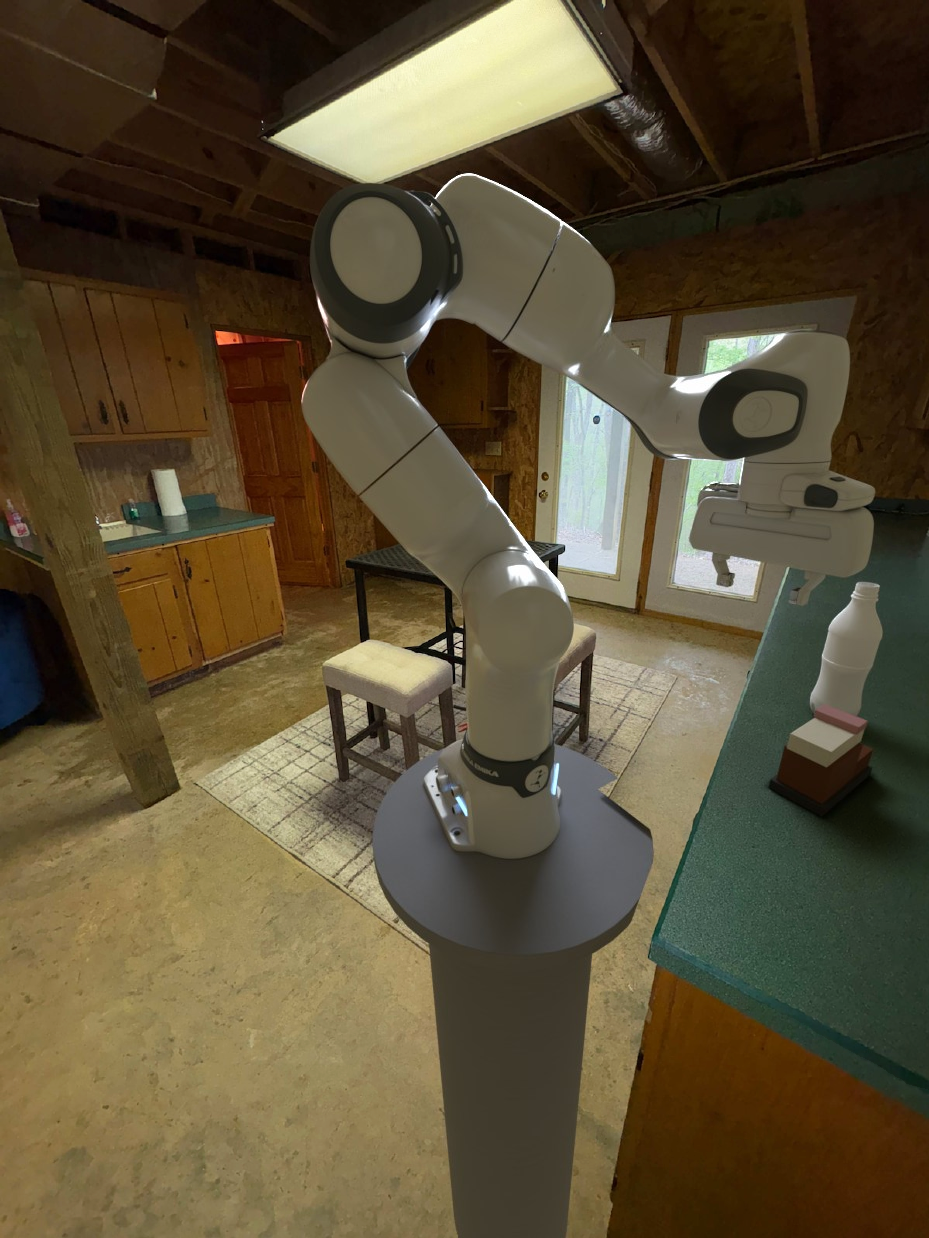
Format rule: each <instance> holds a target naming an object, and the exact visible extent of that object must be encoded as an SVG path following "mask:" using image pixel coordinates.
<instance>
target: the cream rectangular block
mask: <svg viewBox="0 0 929 1238" xmlns="http://www.w3.org/2000/svg"><path fill="white" fill-rule="evenodd" d="M868 723H869V721H868V720H866V719H864V718H862V717H859V716H858V715H857V716H854V715H851V714H849V713H846V712H844V711H841V710H838V709H836V708H833V707H831V706H828V705H825V704H824V705H822V706H821V707H819V708H818V709H816V710H815V713H813V718H811V720H809V721H807V722H805V724H802V725H801V726H800V727H798V728H797V729H795V730H794V731H792V732H790V734H789V738H788V741H787V744H788V745H787V744H786V745H787V749H789V750H791V751H793V752H795V753H798V754H800V755H802V756H804V757H806V758H808V759H810V760H812V761H814V762H816V763H819V764H821V765H823V766H825V767H828V766H829V765H831V764H832V763H833V762H834V761H836V760H837V759H838V758H840V757H841V756H842V755H844V754H845V753H846V752H847V751H849V750H850V749H851V748H853V747H854V746H855V745H857V744H858V743H861V742H862V739H863V735H864V732H865V730H866V728H867V726H868Z"/></svg>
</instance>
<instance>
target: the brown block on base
mask: <svg viewBox="0 0 929 1238" xmlns="http://www.w3.org/2000/svg"><path fill="white" fill-rule="evenodd" d="M787 745H788V743H786V744H785V745H784V746H783V751H782V755H781V759H780V763H779V767H778V770H777V774H776V775H775V776H773V777H772V778H770V779H769V780H770V781H769V784H768V789H770V790H772V791H774V792H776V793H778V794H779V795H782V796H784V797H785V798H786V799H789V800H790V801H792V802H794V803H795V804H798V805H799V806H801V807H803V808H805V809H806V810H808V811H811V812H812V813H814V814H816V815H818V816H820V817H824V815H826V814H827V813H828V812H829V811H831V809H833V808H834V807H835V806H836V805H837V804H838V803H840V802H841V801H842V800H843V799H844V798H845V797H846V796H847V795H849V794H850V793H851V792H852V791H853V790H854V789H855V788H857V787H858V786H859V785H860V784H861V783H862V782H864V781H865V780H866V779H867V778H868V777H870V776H871V773H872V772H873V766H871V765H869V764H870V760H871V758H872V755H873V753H874V748H871V747H868V746H867V745H865V744H862V743H861V742H859V743H858V744H857V745H855V746H854V747H853V748H851V749H850V750H849V751H847V752H846V753H845V754H844V755H842V756H841V757H840V758H838V759H837V760H836V761H834V762H833V763H832V764H831V765H829V766H828V767H825V766H823V765H821V764H819V763H816V762H814V761H812V760H810V759H808V758H806V757H804V756H802V755H800V754H798V753H795V752H793V751H791V750H789V749H787Z"/></svg>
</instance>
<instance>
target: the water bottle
mask: <svg viewBox="0 0 929 1238" xmlns="http://www.w3.org/2000/svg"><path fill="white" fill-rule="evenodd" d="M880 587H881V586H880V585H879V584H878V583H874V582H868V581H858V582H856V584H855V588H854V590H853V591H852V594H850V597H851V600H850V601H849V603H848V604H847V605H846V607H845V608H843V609H842V610H841V612H839V613H838V614H837V615H836V616H835V617H834V618H833V619H832V620H831V622H830V624H829V625H828V628H827V630H828V632H827V636H826V640H825V643H824V647H823V651H822V654H821V664H820V665H821V666H820V672H819V675H818V677H817V681H816V684H815V685H814V688H813V690H812V691H811V693H810V698H809V706H810V711H811V712H812V714H814V713H815V710H816V709H818V708H819V707H821V706H822V705H824V704H825V705H828V706H831V707H833V708H836V709H838V710H841V711H844V712H846V713H849V714H851V715H854V716H857V717H858V715H859V714H860V711H861V709H862V699H863V698H862V697H863V690H864V686H865V682H866V680H867V677H868V676H869V674H870V672H871V670H872V668H873V666H874V662H875V659H876V656H877V652H878V649H879V646H880V643H881V640H883V633H884V631H883V626H882V623H881V620H880V617H879V615H878V613H877V608H876V605H877V604H876V603H877V602H879V592H880Z"/></svg>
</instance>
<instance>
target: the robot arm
mask: <svg viewBox="0 0 929 1238" xmlns="http://www.w3.org/2000/svg"><path fill="white" fill-rule="evenodd" d="M428 203H431V205H429V204H428ZM309 270H310V277H311V282H312V284H313V289H314V292H315V297H316V298H315V299H316V303H317V304H316V305H317V308H318V311H319V314H320V317H321V320H322V322H323V325H324V328H325V331H326V335H327V337H328V339H329V342H330V350H329V353H328V355H327V357H326V359H325V361H323V362H322V363H321V364H319V366H317V368H316V369H315V370H314V371H313V372H312V374H311V375H310V376H309V378H308V380H307V382H306V384H305V386H304V389H303V392H302V396H301V412H302V415H303V419H304V421H305V423H306V425H307V427H308V428H309V430H310V432H311V433H312V435H313V436H314V438H315V440H316V442H317V443H318V445H319V446H320V448H321V449H322V451H323V452H324V454H325V455H326V457H327V458H328V459H329V461H330V462H331V464H332V465H333V466H334V468H335V469H336V470H337V472H338V473H339V475H340V476H341V477H342V479H344V481H345V482H346V484H348V486H349V487H350V488H351V489H352V491H353V492H354V493H355V494H356V495H357V496H358V495H359V496H358V498H359V499H360V500H361V501H362V502H363V504H365V506H366V507H367V508H368V509H369V510H370V511H371V512H372V514H373V515H374V516H375V517H376V518H377V520H379V522H380V523H381V524H382V525H383V526H384V527H385V528H386V530H388V532H389V533H390V534H391V535H392V537H393V538H394V539H395V540H396V541H397V542H398V543H399V544H400V545H401V546H402V548H403V549H404V550H405V551H406V552H407V553H408V554H409V555H410V556H412V557H414V558H415V559H417V560H418V561H419V562H420V563H421V564H423V565H424V566H425V567H426V568H427V569H428V570H429V571H430V572H431V573H433V574H434V575H435V576H436V577H437V578H438V579H439V580H440V581H442V582H443V584H445V585H446V587H447V588H448V589H449V590H451V592H452V593H453V594H454V596H455V597H456V598H457V600H458V601H459V604H460V606H461V607H462V609H463V615H464V624H465V625H464V626H465V655H466V656H465V659H466V661H465V682H464V685H465V687H464V688H465V690H464V691H465V706H461V705H457V704H453V706H452V708H453V709H455V710H459V711H463V712H466V713H465V714H466V721H465V722H463V723H461V724H459V725H457V727H458V728H460V729H458V730H457V733H462V732H464V731H465V732H464V735H463V737H462V738H460V739H458V740H456V741H454V742H452V743H450V744H449V745H447V746H446V747H444V748H445V749H444V748H443V749H444V750H443V751H442V752H441V753H440V755H439V757H438V765H437V766H435V767H434V768H433V769H431V770H430V771H429V772H428V773H427V774H426V776H425V777H424V787H425V789H426V791H427V793H428V796H429V798H430V800H431V802H432V805H433V807H434V809H435V811H436V813H437V816H438V818H439V820H440V822H441V825H442V827H443V829H444V831H445V834H446V836H447V838H448V840H449V842H450V845H451V847H452V848H453V849H454V850H456V851H462V852H473V851H476V852H481V853H484V854H487V855H490V856H494V857H498V858H505V859H518V858H525V857H529V856H532V855H535V854H537V853H539V852H541V851H543V850H544V849H546V848H547V847H548V846H550V845H551V844H552V843H553V841H554V840H555V839H556V837H557V835H558V833H559V830H560V815H559V809H558V806H559V803H560V801H561V789H560V788H559V787H558V786H557V777H558V769H559V764H557V765H556V766H555V757H554V751H555V744H556V742H555V735H554V732H553V730H552V729H553V707H554V706H553V705H554V689H555V682H556V679H557V674H558V670H559V666H560V662H561V660H562V657H564V655H565V654H566V652H567V651H568V649H569V647H570V646H571V644H572V643H571V642H572V640H573V636H574V630H575V623H574V616H573V612H572V607H571V603H570V599H569V596H568V593H567V591H566V589H565V588H564V586H563V584H562V583H561V581H559V579H558V578H557V577H556V576H555V575H554V573H552V572H551V570H550V569H549V568H548V566H546V564H545V563H544V562H543V561H542V560H541V558H540V557H539V556H538V555H537V554H536V553H535V552H534V550H533V549H532V548H531V546H530V545H529V544H528V543H527V541H526V540H525V538H524V536H522V534H521V533H520V531H519V530H518V529H517V528H516V527H515V525H514V524H513V523H512V521H511V520H510V518H509V517H508V516H507V514H506V513H505V512H504V510H503V509H502V508H501V506H500V505H499V503H498V502H497V501H496V500H495V498H494V497H493V495H492V494H491V493H490V491H489V490H488V488H487V487H486V486H485V484H484V483H483V482H482V480H481V479H480V478H479V477H478V475H477V474H476V473H475V470H473V468H472V467H471V466H470V464H469V463H468V462H467V461H466V459H465V458H464V457H463V456H462V454H461V453H460V452H459V450H458V448H457V447H455V445H454V444H453V442H452V441H451V440H450V438H449V437H448V436H447V434H446V433H445V431H443V429H442V428H441V427H440V426H438V425H439V424H438V423H437V422H436V420H435V418H433V416H432V415H431V414H430V412H428V410H427V409H426V408H425V406H424V405H423V404H422V403H421V401H420V400H419V399H418V397H417V394H416V393H415V390H414V389H413V387H412V385H411V382H410V380H409V377H408V372H407V370H408V368H409V367H410V365H411V364H412V362H413V361H414V359H415V357H416V356H417V354H418V352H419V350H420V348H421V345H422V343H423V342H425V339H426V338H427V336H428V335H429V332H430V330H431V328H432V326H433V325H434V324H435V322H436V321H440V320H444V319H454V320H455V319H457V320H460V321H464V322H467V323H469V324H470V325H471V324H472V325H476V326H477V327H478V328H480V329H481V330H482V331H484V332H485V333H486V334H488V335H490V337H493V338H494V339H495V340H497V341H498V342H501V343H502V344H504V345H505V346H507V347H508V348H510V349H511V350H514V352H517V353H518V354H521V355H522V356H524V357H526V358H528V359H530V360H531V361H534V362H536V363H537V364H539V365H541V366H544V367H546V368H548V369H550V370H553V371H555V372H557V373H558V374H560V375H562V376H565V377H566V378H568V379H570V380H572V381H574V382H575V383H576V384H577V385H579V386H580V387H582V388H583V389H584V390H586V391H587V392H588V393H590V394H592V396H594V397H596V398H597V399H599V400H600V401H601V402H603V403H604V404H605V405H606V406H608V407H610V408H611V409H613V410H614V411H616V412H617V413H618V414H619V415H621V416H622V417H624V418H625V420H626V421H627V422H628V423H629V424H630V425H631V426H632V428H633V429H634V431H635V433H636V434H637V437H638V438H639V440H640V441H641V443H642V444H643V446H644V447H645V448H646V449H647V450H648V451H649V452H650V453H651V454H652V455H654V456H655V457H657V458H659V459H663V460H669V461H670V460H671V461H672V460H673V461H675V460H686V459H687V460H698V461H700V460H701V461H715V462H733V461H737V460H741V459H742V465H741V471H740V478H739V482H721V481H711V482H710V483H709V484H706V485H705V486H703V487H702V488H701V489H700V490H699V491H698V495H697V502H696V510H695V514H694V516H693V520H692V523H691V528H690V533H689V537H688V541H689V543H690V545H691V548H692V549H693V550H697V551H702V552H708V553H711V555H712V556H711V562H712V566H713V567H714V570H715V572H716V574H717V576H716V581H715V582H716V585H717V586H719V587H723V588H730V587H732V586H733V585H734V583H735V581H734V579H735V576H736V573H734V572H731V571H730V567H729V564H728V562H727V561H728V560H731V557H734V558H738V559H745V560H749V561H754V562H760V563H765V564H769V565H775V566H780V567H785V568H791V569H795V570H801V571H804V575H803V579H804V580H807V581H806V582H805V584H803V586H802V587H796V588H793V589H791V590H790V592H789V598H788V600H787V601H788V602H787V603H789V604H791V605H796V606H800V607H803V606H805V605H807V604H808V603H809V601H810V595H811V591H813V590H815V588H816V587H817V586H819V585H820V583H822V582H823V581H824V579H826V575H827V576H832V577H837V578H843V579H845V578H849V577H851V576H854V575H856V574H858V573H860V572H862V571H863V570H864V569H865V568H866V567H867V565H868V563H869V559H870V555H871V551H872V545H873V538H874V527H875V521H874V516H873V514H872V513H871V511H870V510H869V509H867V508H866V506H867V505H870V504H871V503H872V502H873V501H874V498H875V494H876V489H875V487H874V486H872V485H871V484H868V483H865V482H862V481H860V480H856V479H855V478H854V479H853V478H850V477H848V476H845V475H844V474H839V473H837V472H834V471H832V470H830V465H831V461H832V439H833V435H834V433H835V431H836V429H837V427H838V426H839V424H840V422H841V418H842V415H843V410H844V405H845V400H846V395H847V391H848V387H849V386H848V385H849V378H850V368H851V353H850V351H851V350H850V346H849V343H848V342H849V341H848V340H847V339H846V338H845V337H842V336H841V335H840V334H838V333H836V332H832V331H826V330H820V329H819V330H818V329H814V330H805V329H802V330H792V331H787V332H783V333H779V334H778V335H776V336H773V338H772V339H771V340H770V341H769V343H767V345H765V346H764V347H762V348H760V349H759V350H758V351H757V352H755V353H754V354H752V355H750V356H748V357H747V358H744V359H743V360H741V361H739V362H737V363H736V362H735V363H734V364H731V365H729V366H727V367H726V368H724V369H719V370H715V371H712V372H711V371H710V372H706V373H702V374H697V375H696V374H695V375H685V376H684V375H672V374H667V373H664V372H662V371H660V370H658V369H657V368H656V367H654V365H652V364H651V363H649V362H648V360H646V359H645V358H643V357H642V356H641V355H640V354H638V353H637V352H636V351H635V350H633V349H632V348H631V347H629V345H627V344H626V343H624V342H623V340H621V339H620V338H619V336H617V334H616V333H615V330H614V329H613V325H612V318H613V315H614V310H615V303H616V285H615V278H614V273H613V270H612V267H611V266H610V265H609V263H608V261H606V259H605V258H604V257H603V255H602V254H601V253H600V252H599V251H598V250H597V249H596V247H594V245H593V244H592V243H591V242H590V241H589V240H588V239H586V238H585V236H583V235H582V234H580V233H579V232H578V231H577V230H575V229H574V228H573V227H572V226H570V225H569V224H567V223H566V222H564V221H562V219H560V218H559V217H557V216H556V215H555V214H553V213H552V212H550V211H549V210H548V209H546V208H544V207H542V206H541V205H539V204H538V203H536V202H534V201H532V200H531V199H529V198H527V197H525V196H523V195H522V194H520V193H518V192H517V191H514V190H513V189H511V188H508V187H507V186H504V185H502V184H499V183H498V182H496V181H493V180H490V179H488V178H486V177H483V176H481V175H478V174H474V173H463V174H459V175H457V176H455V177H454V178H452V179H451V180H449V181H448V182H447V183H446V184H445V185H444V186H443V187H442V188H441V189H440V191H439V192H438V193H437V194H436V196H435V197H434V196H433V195H432V194H431V193H429V192H426V191H422V190H403V189H401V188H398V187H395V186H392V185H388V184H384V183H375V182H363V183H360V182H359V183H356V184H355V183H354V184H352V185H348V186H346V187H344V188H342V189H340V190H339V191H337V192H336V193H334V194H333V195H332V196H331V197H330V199H329V200H327V202H326V203H325V204H324V206H323V207H322V209H321V211H320V213H319V214H318V217H317V219H316V221H315V223H314V227H313V230H312V234H311V240H310V247H309ZM456 835H458V836H456Z"/></svg>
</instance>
